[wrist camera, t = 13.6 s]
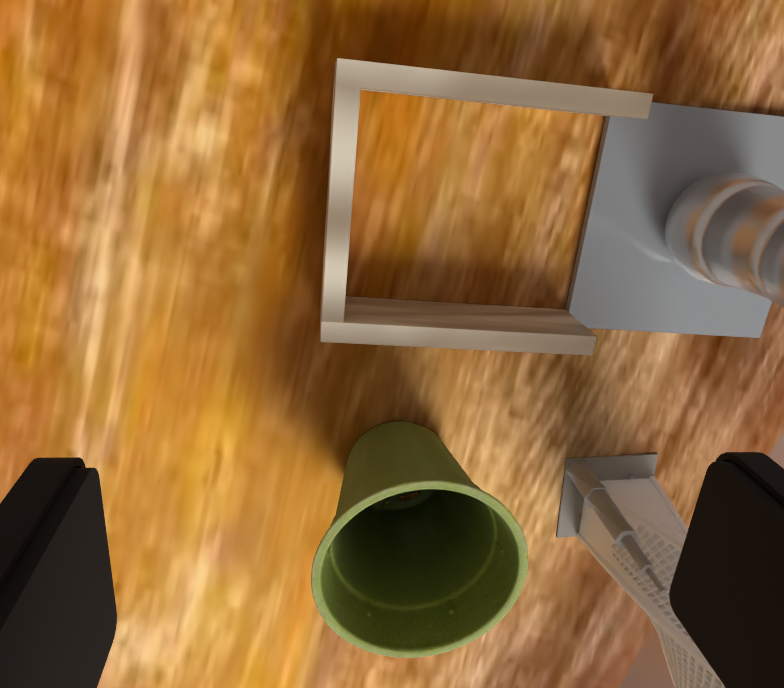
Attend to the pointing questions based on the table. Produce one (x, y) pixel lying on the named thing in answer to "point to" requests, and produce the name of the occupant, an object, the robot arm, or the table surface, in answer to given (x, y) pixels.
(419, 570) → the plant pot
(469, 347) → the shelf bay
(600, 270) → the tile
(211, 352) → the table surface
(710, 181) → the plastic bottle
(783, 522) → the robot arm
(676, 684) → the skyscraper
